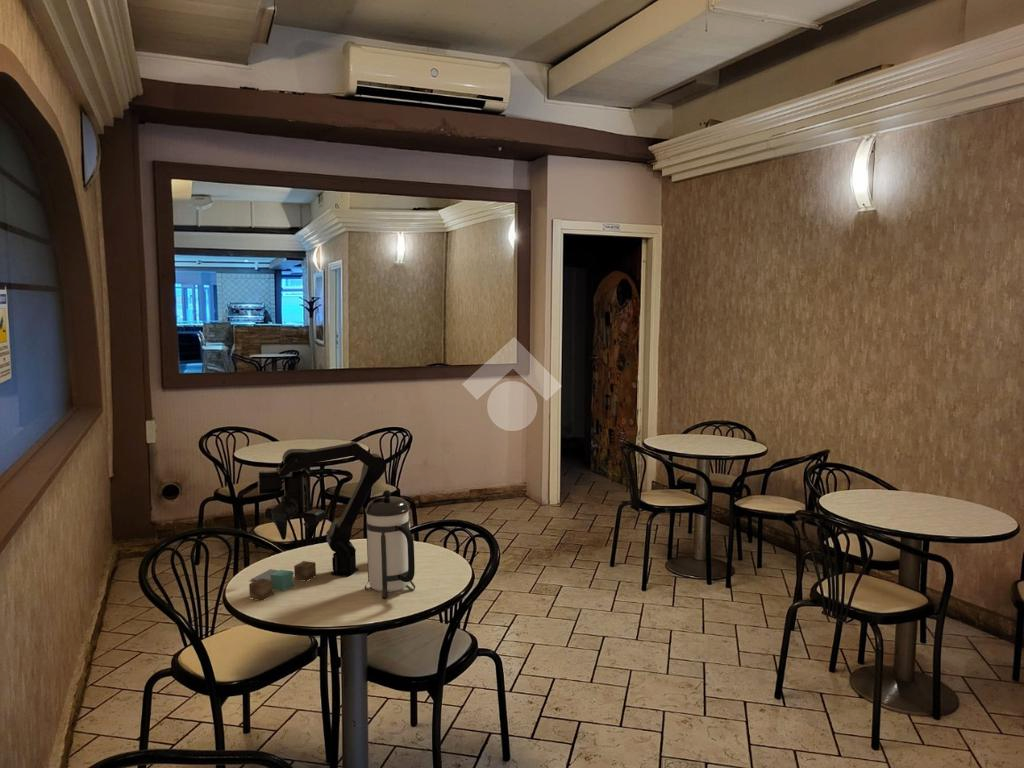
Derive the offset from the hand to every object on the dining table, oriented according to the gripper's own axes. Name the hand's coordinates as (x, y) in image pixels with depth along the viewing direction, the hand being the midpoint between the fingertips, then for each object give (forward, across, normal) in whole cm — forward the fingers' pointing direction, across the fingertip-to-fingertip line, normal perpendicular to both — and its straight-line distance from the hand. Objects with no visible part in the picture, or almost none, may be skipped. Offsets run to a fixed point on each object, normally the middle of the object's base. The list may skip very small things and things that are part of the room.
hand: (296, 541), depth 223 cm
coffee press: (+12, +32, +2) cm, 35 cm away
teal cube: (+12, 0, -6) cm, 14 cm away
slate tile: (+12, -9, -1) cm, 15 cm away
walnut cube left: (+12, -1, -14) cm, 19 cm away
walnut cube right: (+12, +1, +2) cm, 12 cm away
